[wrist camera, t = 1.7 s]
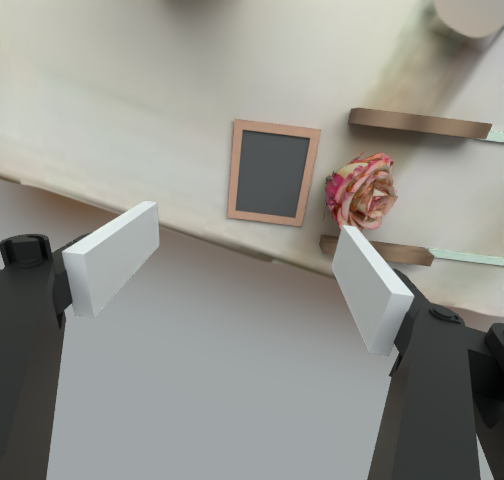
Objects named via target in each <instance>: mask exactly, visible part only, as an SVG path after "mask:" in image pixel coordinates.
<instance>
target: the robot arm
mask: <svg viewBox="0 0 504 480" xmlns="http://www.w3.org/2000/svg"><path fill="white" fill-rule="evenodd" d="M158 247H159V225H158V202H151V201H143V202H141V203H140V204H138V205H137V206H135V207H133V208H132V209H130V210H128V211H127V212H125V213H124V214H122V215H120V216H119V217H117V218H116V219H114V220H112V221H111V222H109V223H107V224H106V225H104V226H103V227H101V228H99V229H98V230H96V231H95V232H91V233H88V234H85V235H82V236H80V237H78V238H76V239H75V240H73V242H70V243H68V244H66V246H63V247H61V248H60V249H58V250H56V251H55V252H53V253H52V252H51V248H50V243H49V239H48V237H47V236H45V235H41V234H25V235H18V236H14V237H10V238H7V239H5V240H2V241H1V242H0V251H1V255H2V258H3V261H4V265H5V267H4V269H3V270H0V480H46V476H47V468H48V460H49V452H50V444H51V436H52V428H53V420H54V411H55V403H56V395H57V387H58V379H59V371H60V363H61V354H62V346H63V338H64V331H65V323H66V317H65V312H64V310H65V309H66V308H67V307H68V306H69V305H70V304H71V303H72V306H73V310H74V315H75V316H81V317H90V318H95V317H96V315H97V314H98V313H99V312H100V311H101V310H102V309H103V308H104V307H105V306H106V304H107V303H108V302H109V301H110V300H111V299H112V298H113V297H114V295H115V294H116V293H117V292H118V291H119V290H120V289H121V288H122V287H123V285H124V284H125V283H126V282H127V281H128V280H129V279H130V278H131V276H133V274H134V273H135V272H136V271H137V270H138V269H139V268H140V267H141V266H142V264H143V263H144V262H145V261H146V260H147V259H148V258H149V257H150V255H151V254H152V253H153V252H154V251H155V250H156V249H157V248H158ZM331 268H332V270H333V272H334V275H335V277H336V279H337V281H338V284H339V286H340V288H341V291H342V293H343V295H344V298H345V300H346V302H347V304H348V307H349V309H350V311H351V314H352V316H353V318H354V320H355V323H356V325H357V327H358V330H359V332H360V334H361V336H362V339H363V341H364V343H365V346H366V348H367V350H368V353H371V354H379V355H387V356H389V354H390V352H391V350H392V347H393V345H394V344H395V346H396V347H397V349H398V351H399V354H398V357H397V359H396V361H395V363H394V366H393V368H392V370H391V373H390V374H389V376H391V377H392V378H391V383H390V387H389V391H388V395H387V399H386V403H385V408H384V412H383V416H382V420H381V425H380V429H379V433H378V437H377V441H376V445H375V450H374V454H373V458H372V462H371V467H370V471H369V475H368V479H367V480H481V478H480V468H479V459H478V449H477V439H476V434H477V436H478V439H479V441H480V444H481V446H482V449H483V452H484V454H485V457H486V460H487V462H488V465H489V467H490V470H491V472H492V475H493V478H494V480H504V324H503V323H494V324H493V325H492V326H491V327H490V329H489V331H488V332H487V333H486V332H482V331H479V330H476V329H472V328H469V327H466V326H465V324H464V321H463V319H462V318H461V317H460V316H458V314H456V313H455V312H453V311H451V310H450V309H448V308H445V307H443V306H440V305H437V304H433V303H430V302H429V301H428V300H427V299H426V297H425V296H424V295H423V294H422V293H421V292H420V291H419V290H418V289H417V287H416V286H415V285H414V284H413V283H412V282H411V281H410V280H409V279H408V277H407V276H406V275H404V274H403V273H401V272H400V271H398V270H397V269H391V268H390V266H389V265H388V264H387V263H386V262H385V261H384V259H383V258H382V257H381V256H380V255H379V253H378V252H377V251H376V250H375V249H374V248H373V246H372V245H371V244H370V243H369V242H368V240H367V239H366V238H365V237H364V236H363V235H362V233H361V232H360V231H359V230H358V229H357V227H354V226H346V225H342V229H341V233H340V236H339V240H338V244H337V248H336V252H335V255H334V259H333V263H332V267H331Z"/></svg>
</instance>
